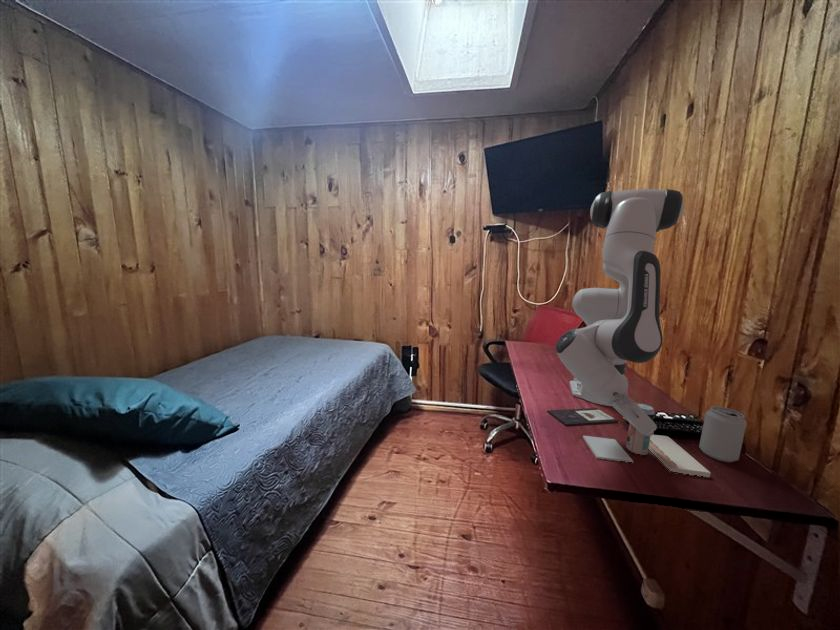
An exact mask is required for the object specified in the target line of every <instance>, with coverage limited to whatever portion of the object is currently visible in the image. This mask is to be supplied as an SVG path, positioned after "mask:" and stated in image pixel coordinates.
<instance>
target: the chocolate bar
mask: <svg viewBox="0 0 840 630" xmlns="http://www.w3.org/2000/svg"><path fill="white" fill-rule="evenodd" d="M546 412H547V413H548V414H549V415H550V416H552V417H553V418H554V419H556V420H557V421H558V422H559V423H561V424H563V426H564V427H571V426H586V425H589V426H590V425H605V424H615V423H616V424H618V423H619V420H618V419H615V418H614V417H613V416H611V415H609V414H608V413H605V412H604V411H603V410H601V409H599V408H597V407H593V408H592V407H589V408H572V409H571V408H570V409H555V410H554V409H553V410H547V411H546ZM617 422H618V423H617Z"/></svg>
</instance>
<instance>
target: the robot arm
mask: <svg viewBox="0 0 840 630" xmlns="http://www.w3.org/2000/svg"><path fill="white" fill-rule="evenodd" d="M684 202H685V201H684V195H683V194H682V193H681V191H679V190H675V189H670V188H666V189H658V188H657V189H654V188H638V189H626V190H625V189H623V190H617V191H616V190H615V191H612V190H607V191H604V192H600V193H599V194H598V195H597V196H596V197H595V198H594V200H593V202H592V204H591V206H590V210H589V211H590V212H589V213H590V214H589V215H590V220H591V224H593V226H595V227H596V228H599V229H604V230H605V229H606V232H605V235H604V240H603V246H602V250H601V251H602V255H601V256H602V262H603V263H602V271H603V273H604V274H605V275H606V276H607V277H608V278H610V279H611V280H613V281H616V283H617V282H618V283H619V288H605V287H603V288H602V287H589V288H582V289H580V290H578V291H577V292H576V293H575V295H574V297H573V299H572V308H573V310H574V312H575V314H576V315H577V316H578V317H579V318H580V319H581V320H582V321H583V322H584V324H585V325H586V326H585V327H584V326H583V327H580V328H572V329H569V330H566V332H564V333H563V334H562V335H561V336H560V337H559V339H558V340H557V343H556V344H555V345H556V346H555V351H556V355H557V356H558V358H559V359H560V361H561V363H562V364H563V365H564V366H565V367H566V369H567V370H568V371H569V372H570V374H571V375H572V376H573V380H570V381H569V386H570V387H569V388H570V391H571V393H572V394H571V395H572V396H573V397H576V398H580V399H583V400H585V401H588V402H590V403H593V404H597V405H601V406H606V407H613V408H614V409H615V410H616V411H617V412H618V413H619V414H620V415H621V416H622V417H623V418H624V419H625V420H626V421H627V422H628V423H629V424H632V425H633V426H634V427H635V428H636V429H637V430H638V431H639V432H640V433H641V434H642V435H644V436H647V437H650V436H651V435H655V434H654V433H655V432H654V431H656V430H657V429H658V427H657V425H656V422H654V420H653V421H652V420H651V419H650V417H649V416H648V415H647V414H646V413H645V412H644V411H643V410H642V409H641V408H640V407H639V406H638V405H637V404H636V401H634V400H633V399H632V398H630V396H628V393H629V391H628V389H629V382H628V377H626V376H625V374H626V369H627V363H626V362H627V361H628V362H631V363H636V364H644V363H648V362H649V361H651V360H653V359H654V358H655V357H656V356H657V355H658V354H659V353H660V351H661V348H662V346H663V341H664V340H663V331H662V326H661V318H660V315H661V314H660V312H661V280H662V279H661V278H662V277H661V275H662V273H661V263H660V260H659V258H658V257H657V255H656V254H655V252H654V251H655V250H654V249H655V240H656V234H657V233H658V232H660V231H663V230H667V229H670V228H672V227H673V226H675V225H676V224H677V223H678V221H679V220H680V219H681V217H682V214H683V213H684V209H685V208H684V207H685V203H684Z"/></svg>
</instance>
